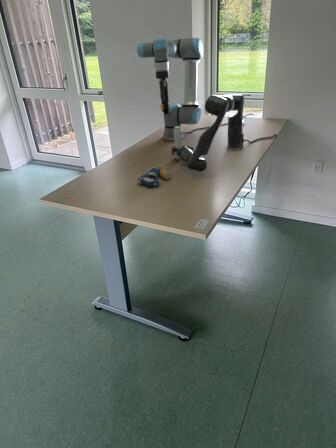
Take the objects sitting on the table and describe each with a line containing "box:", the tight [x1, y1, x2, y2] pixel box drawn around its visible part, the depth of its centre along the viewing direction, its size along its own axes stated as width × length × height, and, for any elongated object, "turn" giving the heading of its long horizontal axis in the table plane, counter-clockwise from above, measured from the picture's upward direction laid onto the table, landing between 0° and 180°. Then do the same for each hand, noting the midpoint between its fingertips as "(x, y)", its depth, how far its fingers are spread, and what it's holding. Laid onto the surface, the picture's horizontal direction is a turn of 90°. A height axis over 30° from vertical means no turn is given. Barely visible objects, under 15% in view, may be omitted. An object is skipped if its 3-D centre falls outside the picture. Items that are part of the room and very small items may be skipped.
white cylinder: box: [174, 126, 184, 160], centre depth 206 cm, size 5×5×20 cm
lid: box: [160, 103, 171, 111], centre depth 196 cm, size 5×5×2 cm
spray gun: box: [137, 166, 171, 188], centre depth 184 cm, size 21×4×15 cm
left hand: (165, 112), depth 198 cm, fingers closed on lid, 5 cm apart
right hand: (177, 146), depth 210 cm, fingers closed on white cylinder, 5 cm apart
